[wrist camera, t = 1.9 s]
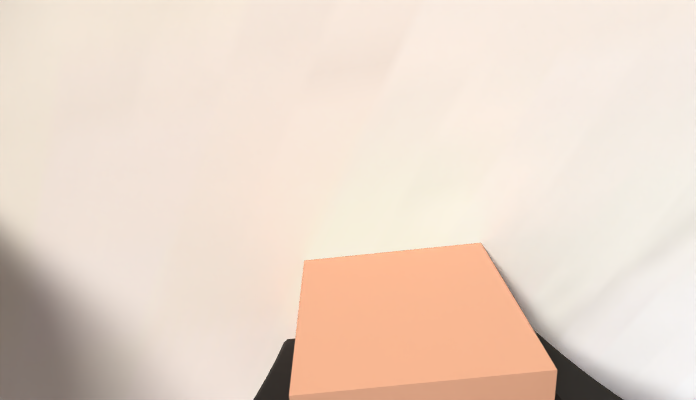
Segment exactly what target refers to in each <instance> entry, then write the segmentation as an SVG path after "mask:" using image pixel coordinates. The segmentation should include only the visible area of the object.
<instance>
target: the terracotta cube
mask: <svg viewBox="0 0 696 400" xmlns="http://www.w3.org/2000/svg"><path fill="white" fill-rule="evenodd" d="M556 379H557V369H556V367H555V365H554V364H553V362H552V360H551V359H550V357H549V355H548V354H547V352H546V350H545V349H544V347H543V345H542V344H541V342H540V340H539V339H538V337H537V335H536V334H535V332H534V330H533V329H532V327H531V325H530V324H529V322H528V320H527V319H526V317H525V315H524V314H523V312H522V310H521V309H520V307H519V305H518V304H517V302H516V300H515V299H514V297H513V295H512V294H511V292H510V290H509V289H508V287H507V285H506V284H505V282H504V280H503V279H502V277H501V275H500V274H499V272H498V270H497V269H496V267H495V265H494V264H493V262H492V260H491V259H490V257H489V255H488V254H487V252H486V250H485V249H484V247H483V245H482V244H481V243H473V244H463V245H454V246H444V247H434V248H424V249H414V250H404V251H394V252H384V253H374V254H365V255H355V256H345V257H335V258H325V259H315V260H305V261H304V267H303V276H302V285H301V294H300V303H299V311H298V320H297V329H296V338H295V346H294V355H293V364H292V373H291V382H290V390H289V399H290V400H555V390H556Z"/></svg>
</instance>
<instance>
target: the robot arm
mask: <svg viewBox="0 0 696 400" xmlns="http://www.w3.org/2000/svg"><path fill="white" fill-rule="evenodd" d="M534 332H535V331H534ZM535 334H536V335H537V337H538V339H539V340H540V342H541V344H542V345H543V347H544V349H545V350H546V352H547V354H548V355H549V357H550V359H551V360H552V362H553V364H554V365H555V367H556V369H557V379H556V390H555V400H623V399H621V398H620V397H618V396H617V395H615V394H614V393H613V392H611V391H610V390H608V389H607V388H605V387H604V386H603V385H601V384H600V383H599V382H597V381H596V380H594V379H593V378H592V377H590V376H589V375H588V374H586V373H585V372H584V371H582V370H581V369H580V368H578V367H577V366H576V365H575V364H573V363H572V362H571V361H570V360H568V359H567V358H566V357H565V356H563V355H562V354H561V353H560V352H559V351H557V350H556V349H555V348H554V347H553V346H551V345H550V344H549V343H548V342H547V341H546V340H544V339H543V338H542V337H541V336H540V335H539V334H538V333H536V332H535ZM294 346H295V339H287V340H286V341H285V342H284V344H283V346H282V348H281V350H280V352H279V354H278V357H277V359H276V361H275V363H274V364H273V366H272V368H271V370H270V372H269V374H268V376H267V377H266V379H265V381H264V383H263V384H262V386H261V388H260V389H259V391H258V393H257V395H256V396H255V398H254V400H290V399H289V390H290V382H291V373H292V364H293V355H294Z"/></svg>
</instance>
